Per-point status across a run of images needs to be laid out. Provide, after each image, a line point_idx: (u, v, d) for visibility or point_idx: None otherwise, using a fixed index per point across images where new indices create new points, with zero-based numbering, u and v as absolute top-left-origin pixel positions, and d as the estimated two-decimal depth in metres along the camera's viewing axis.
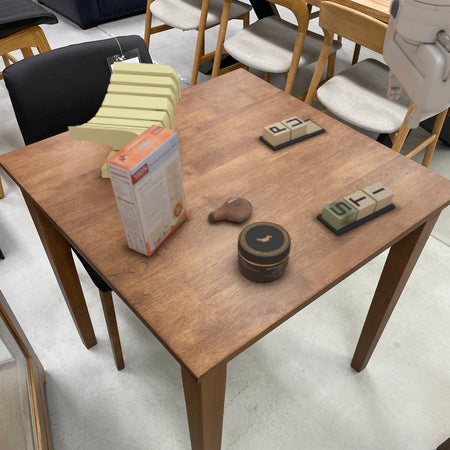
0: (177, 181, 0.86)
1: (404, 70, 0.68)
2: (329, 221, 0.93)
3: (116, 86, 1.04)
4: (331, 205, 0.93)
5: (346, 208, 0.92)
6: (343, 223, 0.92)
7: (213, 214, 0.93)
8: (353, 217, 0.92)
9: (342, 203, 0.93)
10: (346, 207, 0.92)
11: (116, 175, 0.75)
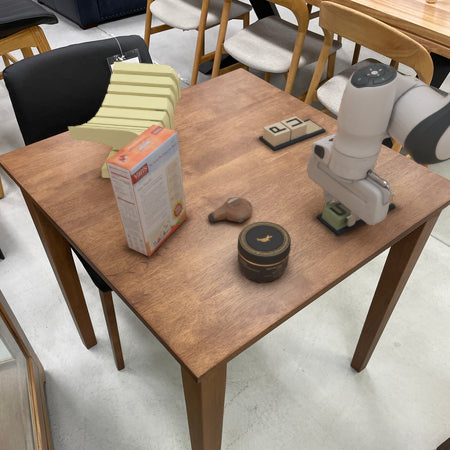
0: (177, 181, 0.86)
1: (340, 192, 0.87)
2: (329, 221, 0.93)
3: (116, 86, 1.04)
4: (331, 205, 0.93)
5: (346, 208, 0.92)
6: (343, 223, 0.92)
7: (213, 214, 0.93)
8: None
9: None
10: (346, 207, 0.92)
11: (116, 175, 0.75)
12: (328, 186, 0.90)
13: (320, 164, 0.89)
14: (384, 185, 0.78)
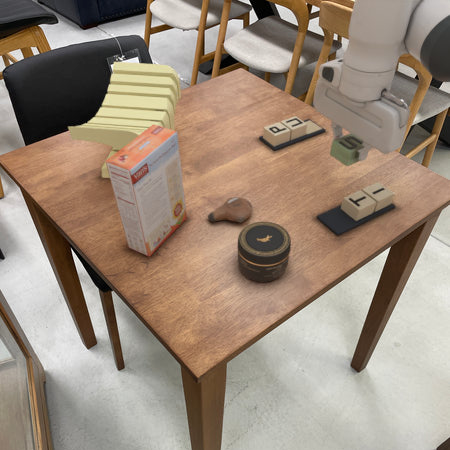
0: (177, 181, 0.86)
1: (351, 121, 0.79)
2: (338, 157, 0.85)
3: (116, 86, 1.04)
4: (340, 139, 0.85)
5: (357, 142, 0.84)
6: (353, 158, 0.84)
7: (213, 214, 0.93)
8: None
9: (352, 137, 0.85)
10: (357, 141, 0.84)
11: (116, 175, 0.75)
12: (337, 116, 0.82)
13: (328, 91, 0.81)
14: (401, 103, 0.71)
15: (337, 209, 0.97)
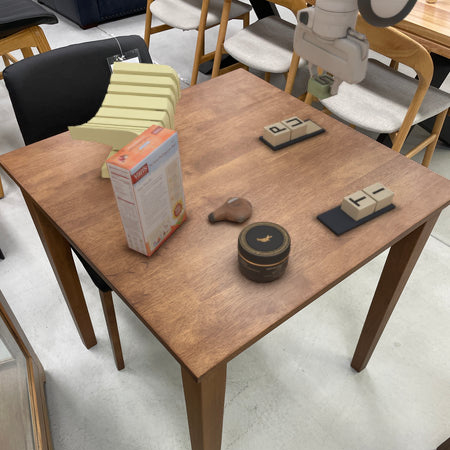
0: (177, 181, 0.86)
1: (324, 58, 0.95)
2: (314, 93, 1.01)
3: (116, 86, 1.04)
4: (316, 78, 1.00)
5: (329, 79, 1.00)
6: (326, 93, 0.99)
7: (213, 214, 0.93)
8: None
9: (326, 76, 1.01)
10: (329, 79, 1.00)
11: (116, 175, 0.75)
12: (313, 56, 0.97)
13: (305, 35, 0.97)
14: (362, 38, 0.86)
15: (337, 209, 0.97)
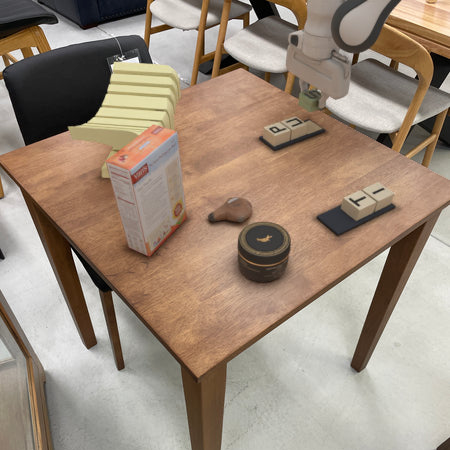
0: (177, 181, 0.86)
1: (312, 76, 1.07)
2: (304, 106, 1.12)
3: (116, 86, 1.04)
4: (306, 92, 1.12)
5: (318, 94, 1.12)
6: (315, 106, 1.11)
7: (213, 214, 0.93)
8: None
9: (315, 91, 1.12)
10: (318, 93, 1.12)
11: (116, 175, 0.75)
12: (302, 73, 1.09)
13: (296, 55, 1.09)
14: (344, 60, 0.98)
15: (337, 209, 0.97)
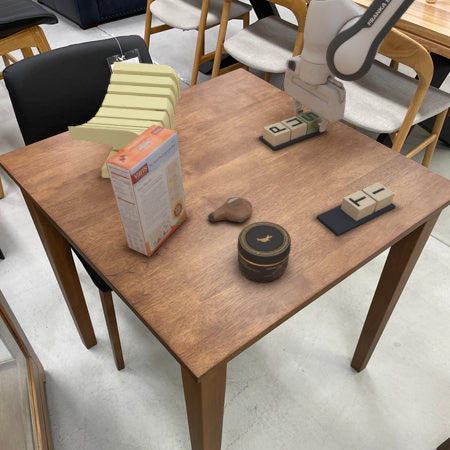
0: (177, 181, 0.86)
1: (309, 99, 1.11)
2: None
3: (116, 86, 1.04)
4: (303, 114, 1.17)
5: (314, 116, 1.16)
6: (311, 127, 1.16)
7: (213, 214, 0.93)
8: None
9: (311, 113, 1.17)
10: (314, 115, 1.16)
11: (116, 175, 0.75)
12: (300, 96, 1.13)
13: (293, 78, 1.13)
14: (340, 85, 1.02)
15: (337, 209, 0.97)
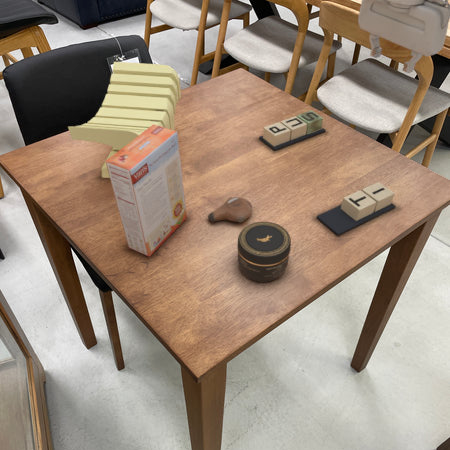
0: (177, 181, 0.86)
1: (395, 30, 0.88)
2: None
3: (116, 86, 1.04)
4: (303, 114, 1.17)
5: (314, 116, 1.16)
6: (311, 127, 1.16)
7: (213, 214, 0.93)
8: (320, 123, 1.16)
9: (311, 113, 1.17)
10: (314, 115, 1.16)
11: (116, 175, 0.75)
12: (381, 28, 0.90)
13: (373, 6, 0.90)
14: (444, 3, 0.79)
15: (337, 209, 0.97)
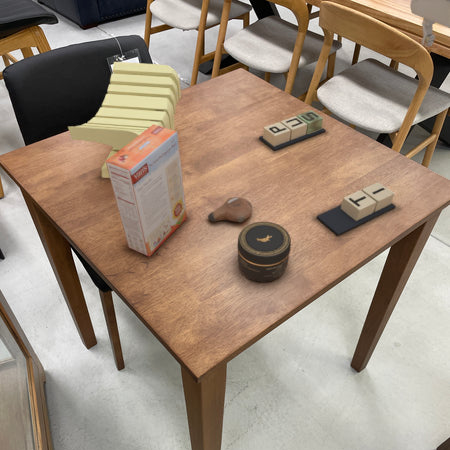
0: (177, 181, 0.86)
1: None
2: None
3: (116, 86, 1.04)
4: (303, 114, 1.17)
5: (314, 116, 1.16)
6: (311, 127, 1.16)
7: (213, 214, 0.93)
8: (320, 123, 1.16)
9: (311, 113, 1.17)
10: (314, 115, 1.16)
11: (116, 175, 0.75)
12: (439, 13, 0.81)
13: None
14: None
15: (337, 209, 0.97)
